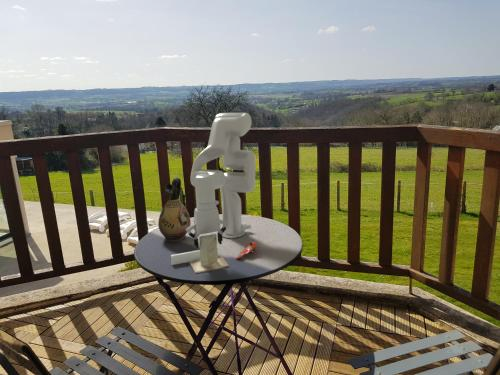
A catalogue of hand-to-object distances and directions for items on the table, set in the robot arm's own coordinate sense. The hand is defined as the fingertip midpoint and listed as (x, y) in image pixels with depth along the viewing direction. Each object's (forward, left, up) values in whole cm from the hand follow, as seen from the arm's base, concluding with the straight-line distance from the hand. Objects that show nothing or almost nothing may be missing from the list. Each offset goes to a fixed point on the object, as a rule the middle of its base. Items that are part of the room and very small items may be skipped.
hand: (208, 244), depth 149 cm
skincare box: (0, 0, -8) cm, 8 cm away
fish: (-18, -3, -9) cm, 21 cm away
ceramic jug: (+6, -35, -9) cm, 37 cm away
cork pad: (0, +1, -9) cm, 9 cm away
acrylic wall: (+4, -6, -9) cm, 12 cm away
